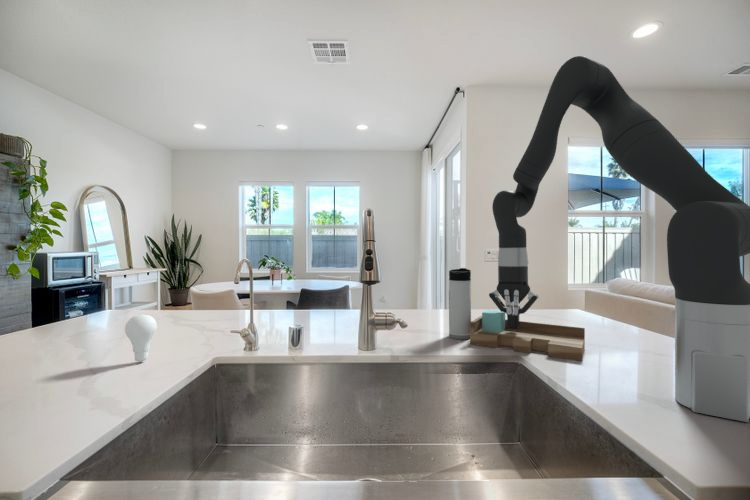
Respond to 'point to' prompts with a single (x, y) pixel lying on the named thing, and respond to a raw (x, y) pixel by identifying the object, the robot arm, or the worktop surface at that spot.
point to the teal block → (493, 321)
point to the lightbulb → (141, 334)
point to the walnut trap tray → (533, 338)
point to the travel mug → (459, 303)
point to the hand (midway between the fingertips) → (513, 328)
